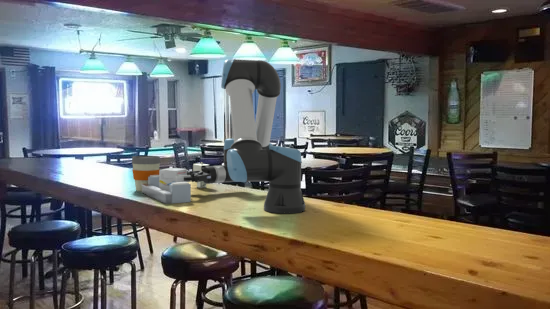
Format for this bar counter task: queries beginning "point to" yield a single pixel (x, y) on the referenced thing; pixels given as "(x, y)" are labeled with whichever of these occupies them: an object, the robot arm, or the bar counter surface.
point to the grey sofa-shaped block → (174, 189)
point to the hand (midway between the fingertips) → (168, 177)
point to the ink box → (169, 177)
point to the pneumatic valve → (199, 168)
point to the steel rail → (157, 193)
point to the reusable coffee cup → (144, 169)
